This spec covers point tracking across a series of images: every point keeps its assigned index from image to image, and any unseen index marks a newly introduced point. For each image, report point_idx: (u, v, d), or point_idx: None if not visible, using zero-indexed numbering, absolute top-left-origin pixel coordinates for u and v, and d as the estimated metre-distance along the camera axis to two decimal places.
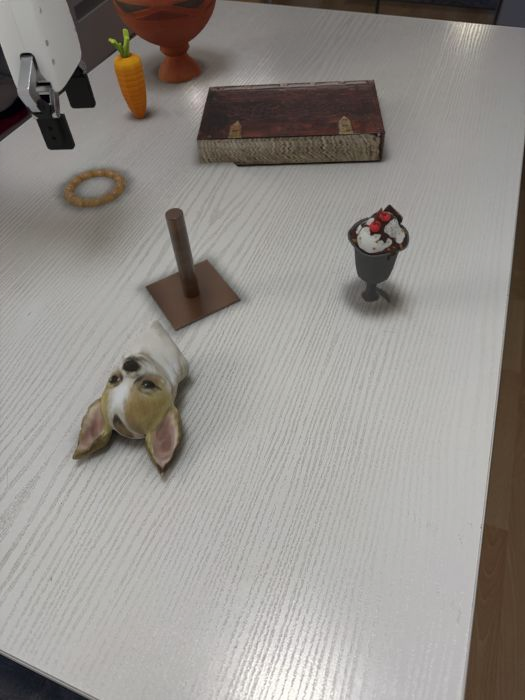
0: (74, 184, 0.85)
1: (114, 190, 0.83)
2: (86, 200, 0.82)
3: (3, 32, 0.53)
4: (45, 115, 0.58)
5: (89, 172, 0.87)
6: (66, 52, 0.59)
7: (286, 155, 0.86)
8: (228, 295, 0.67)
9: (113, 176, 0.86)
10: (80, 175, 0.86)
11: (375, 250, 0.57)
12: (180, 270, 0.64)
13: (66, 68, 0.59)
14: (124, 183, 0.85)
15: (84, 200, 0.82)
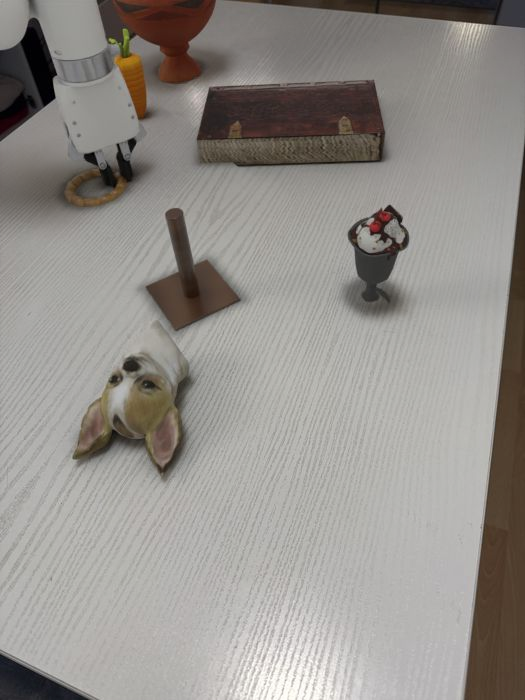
0: (75, 183, 0.85)
1: (115, 190, 0.83)
2: (87, 200, 0.82)
3: None
4: None
5: (90, 172, 0.87)
6: (103, 131, 0.77)
7: (286, 155, 0.86)
8: (228, 295, 0.67)
9: (114, 176, 0.86)
10: (81, 175, 0.86)
11: (376, 250, 0.57)
12: (180, 270, 0.64)
13: (99, 141, 0.78)
14: (125, 183, 0.85)
15: (85, 200, 0.82)
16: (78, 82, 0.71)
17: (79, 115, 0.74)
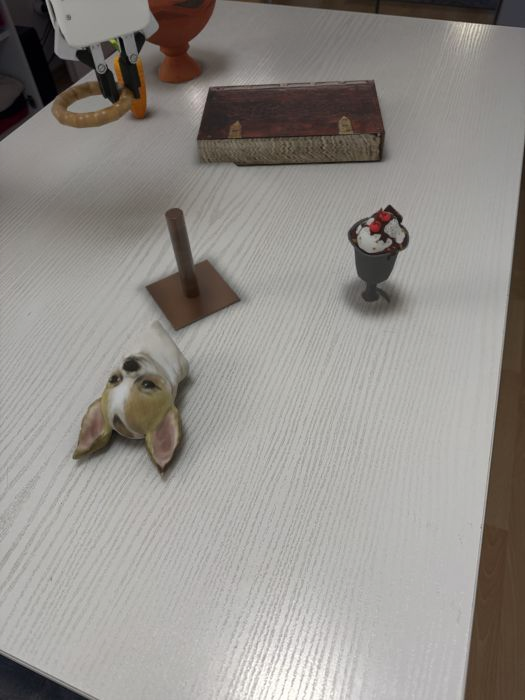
0: (66, 98, 0.65)
1: (118, 102, 0.63)
2: (81, 114, 0.62)
3: None
4: (89, 66, 0.62)
5: (85, 84, 0.67)
6: (101, 14, 0.57)
7: (286, 155, 0.86)
8: (228, 295, 0.67)
9: None
10: (73, 87, 0.66)
11: (376, 250, 0.57)
12: (180, 270, 0.64)
13: (96, 29, 0.58)
14: (131, 95, 0.65)
15: (79, 114, 0.62)
16: None
17: None
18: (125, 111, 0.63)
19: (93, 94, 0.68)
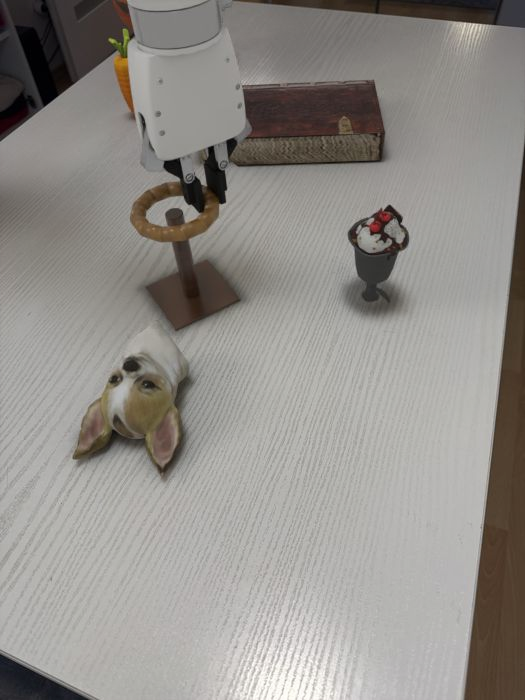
0: (145, 203, 0.59)
1: (205, 213, 0.57)
2: (166, 229, 0.56)
3: (130, 85, 0.49)
4: None
5: (164, 186, 0.61)
6: (197, 127, 0.51)
7: (286, 155, 0.86)
8: (228, 295, 0.67)
9: None
10: (152, 190, 0.60)
11: (376, 250, 0.57)
12: (180, 270, 0.64)
13: (190, 142, 0.52)
14: (217, 202, 0.59)
15: (163, 229, 0.56)
16: (171, 48, 0.45)
17: (166, 102, 0.48)
18: (212, 222, 0.57)
19: (172, 196, 0.62)
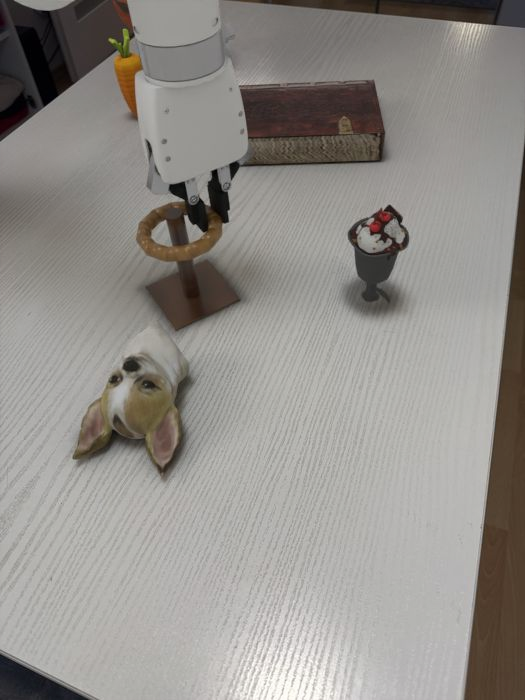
0: (150, 223, 0.61)
1: (209, 233, 0.59)
2: (171, 249, 0.58)
3: (137, 113, 0.51)
4: None
5: (169, 206, 0.63)
6: (201, 152, 0.53)
7: (286, 155, 0.86)
8: (228, 295, 0.67)
9: None
10: (157, 210, 0.62)
11: (376, 250, 0.57)
12: (180, 270, 0.64)
13: (194, 166, 0.54)
14: (220, 222, 0.61)
15: (168, 249, 0.58)
16: (177, 81, 0.47)
17: (172, 130, 0.50)
18: (216, 242, 0.59)
19: None
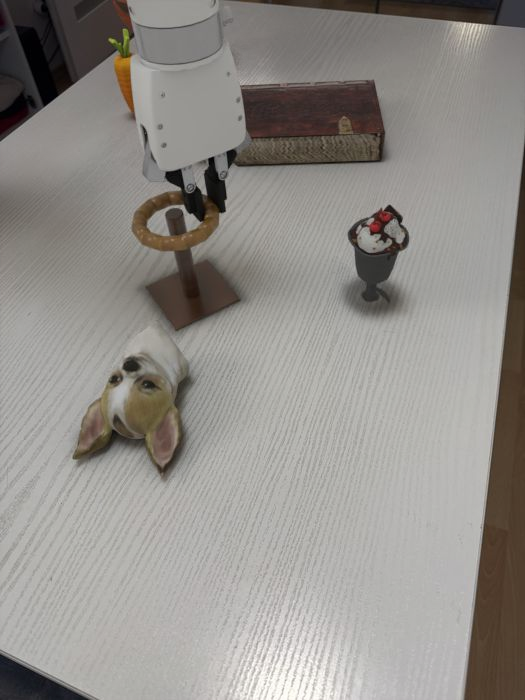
0: (146, 212, 0.60)
1: (206, 223, 0.58)
2: (167, 238, 0.57)
3: (133, 98, 0.50)
4: None
5: (165, 195, 0.62)
6: (198, 139, 0.52)
7: (286, 155, 0.86)
8: (228, 295, 0.67)
9: None
10: (153, 200, 0.61)
11: (376, 250, 0.57)
12: (180, 270, 0.64)
13: (191, 153, 0.53)
14: (217, 211, 0.59)
15: (164, 238, 0.57)
16: (173, 64, 0.46)
17: (168, 115, 0.49)
18: (212, 231, 0.58)
19: (172, 204, 0.63)
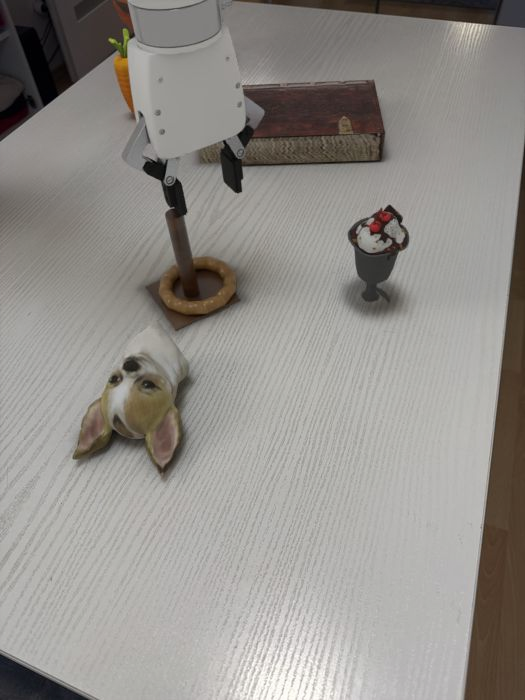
0: (171, 278, 0.68)
1: (225, 289, 0.66)
2: (191, 304, 0.65)
3: (130, 84, 0.49)
4: None
5: None
6: (197, 125, 0.51)
7: (286, 155, 0.86)
8: None
9: (219, 267, 0.69)
10: None
11: (376, 250, 0.57)
12: (180, 270, 0.64)
13: (190, 140, 0.52)
14: (234, 278, 0.68)
15: (189, 304, 0.65)
16: (171, 47, 0.45)
17: (166, 100, 0.48)
18: (230, 296, 0.66)
19: None
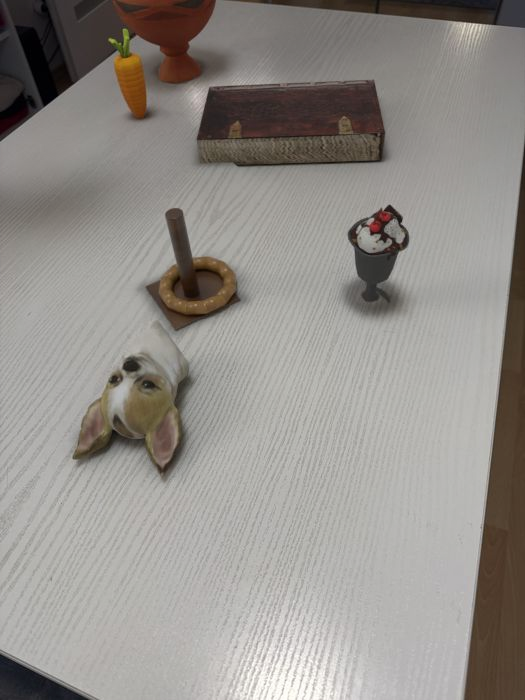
0: (171, 278, 0.68)
1: (225, 289, 0.66)
2: (191, 304, 0.65)
3: None
4: None
5: None
6: None
7: (286, 155, 0.86)
8: None
9: (219, 267, 0.69)
10: None
11: (376, 250, 0.57)
12: (180, 270, 0.64)
13: None
14: (234, 278, 0.68)
15: (189, 304, 0.65)
16: None
17: None
18: (230, 296, 0.66)
19: None
